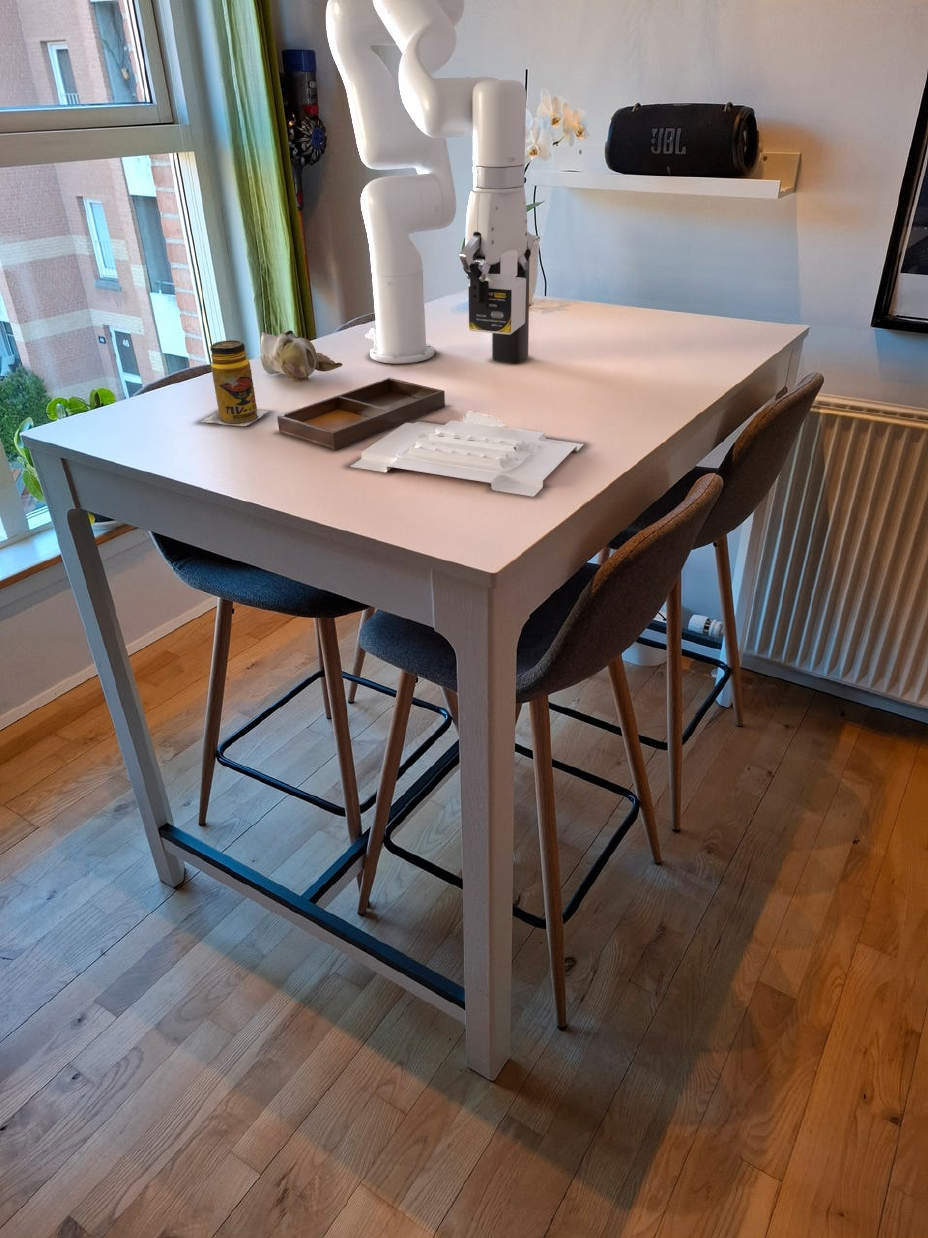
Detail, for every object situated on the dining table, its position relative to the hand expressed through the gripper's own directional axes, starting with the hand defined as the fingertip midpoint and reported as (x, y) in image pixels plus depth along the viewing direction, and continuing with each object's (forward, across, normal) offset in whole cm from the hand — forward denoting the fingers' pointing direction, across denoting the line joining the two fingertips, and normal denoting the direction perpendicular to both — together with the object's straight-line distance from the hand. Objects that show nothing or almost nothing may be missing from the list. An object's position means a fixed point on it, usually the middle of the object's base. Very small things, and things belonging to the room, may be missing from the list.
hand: (497, 300), depth 139 cm
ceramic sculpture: (+17, +10, -39) cm, 44 cm away
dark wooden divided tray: (+17, +19, -12) cm, 28 cm away
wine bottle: (+17, -22, -14) cm, 31 cm away
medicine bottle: (+4, 0, 0) cm, 4 cm away
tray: (+16, +21, +12) cm, 29 cm away
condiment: (+17, +31, -30) cm, 46 cm away
